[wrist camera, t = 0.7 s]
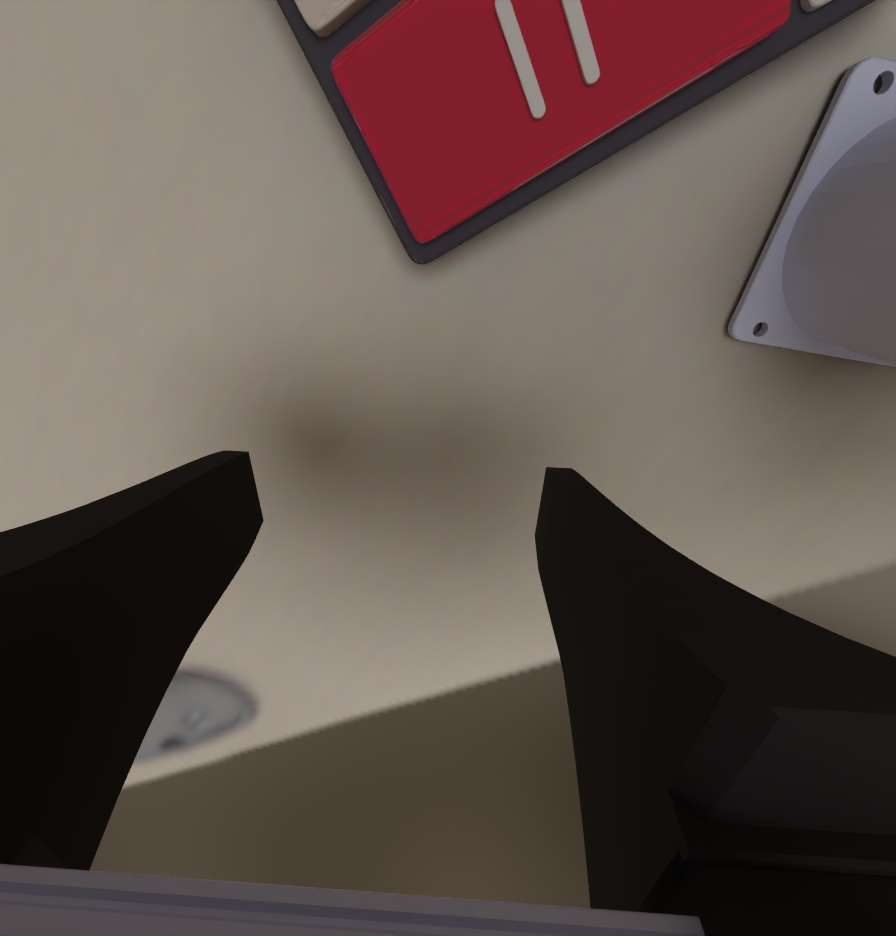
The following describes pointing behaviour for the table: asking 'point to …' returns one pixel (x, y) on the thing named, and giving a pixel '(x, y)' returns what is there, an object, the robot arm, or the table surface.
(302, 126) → the table surface
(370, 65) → the big button panel
